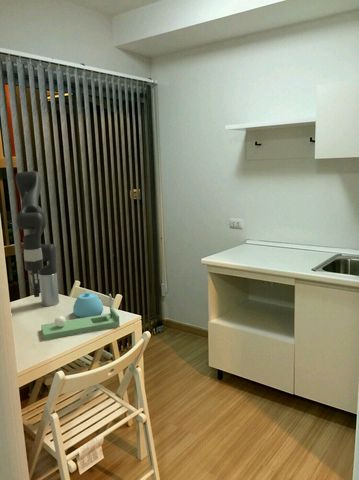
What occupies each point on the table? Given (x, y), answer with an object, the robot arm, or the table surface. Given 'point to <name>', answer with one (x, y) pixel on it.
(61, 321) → the ball
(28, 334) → the table surface
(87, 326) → the mini golf green
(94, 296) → the sugar bowl
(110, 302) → the flag pin
